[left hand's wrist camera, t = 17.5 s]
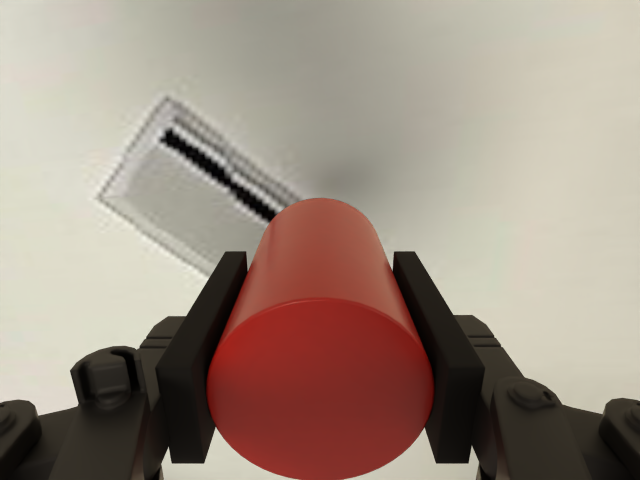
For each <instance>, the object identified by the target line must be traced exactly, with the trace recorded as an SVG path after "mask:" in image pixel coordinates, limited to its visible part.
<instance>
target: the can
mask: <svg viewBox="0 0 640 480" xmlns="http://www.w3.org/2000/svg"><path fill="white" fill-rule="evenodd" d="M434 392H435V387H434V376H433V372H432V367H431V364H430V362H429V359H428V357H427V354H426V352H425V349H424V347H423V345H422V342H421V340H420V337H419V335H418V332H417V330H416V328H415V325H414V323H413V320H412V318H411V315H410V313H409V311H408V308H407V306H406V303H405V301H404V298H403V296H402V293H401V291H400V289H399V286H398V284H397V281H396V279H395V276H394V274H393V272H392V269H391V267H390V264H389V262H388V259H387V257H386V255H385V252H384V250H383V247H382V245H381V242H380V240H379V238H378V235H377V233H376V231H375V229H374V227H373V225H372V224H371V223H370V221H369V220H368V219H367V218H366V217H365V216H364V215H363V214H362V213H361V212H360V211H358V210H357V209H356V208H354V207H352V206H350V205H349V204H346V203H344V202H341V201H338V200H334V199H327V198H313V199H307V200H303V201H299V202H297V203H294V204H292V205H290V206H288V207H287V208H285V209H284V210H282V211H281V212H280V213H278V214H277V215H276V216H275V217H274V218H273V219H272V221H271V222H270V224H269V225H268V226H267V228H266V230H265V232H264V234H263V237H262V239H261V241H260V244H259V246H258V249H257V251H256V254H255V256H254V258H253V261H252V263H251V266H250V268H249V271H248V273H247V275H246V278H245V280H244V283H243V285H242V288H241V290H240V292H239V295H238V297H237V300H236V302H235V305H234V307H233V309H232V312H231V314H230V317H229V319H228V322H227V324H226V326H225V329H224V331H223V334H222V336H221V338H220V341H219V343H218V346H217V348H216V351H215V353H214V355H213V358H212V361H211V364H210V366H209V369H208V375H207V380H206V395H207V402H208V407H209V411H210V414H211V417H212V419H213V421H214V423H215V425H216V428H217V429H218V431H219V432H220V434H221V435H222V437H223V438H224V439H225V440H226V442H227V443H228V444H229V445H230V446H231V447H232V448H233V449H234V450H235V451H236V452H238V453H239V454H240V455H241V456H242V457H244V458H245V459H247V460H248V461H250V462H251V463H253V464H255V465H257V466H259V467H260V468H262V469H264V470H267V471H269V472H272V473H274V474H277V475H281V476H284V477H288V478H293V479H299V480H343V479H348V478H353V477H357V476H360V475H363V474H366V473H369V472H371V471H374V470H376V469H378V468H381V467H382V466H384V465H386V464H388V463H390V462H391V461H393V460H394V459H395V458H397V457H398V456H400V455H401V454H402V453H403V452H404V451H406V450H407V449H408V448H409V447H410V446H411V445H412V444H413V442H414V441H415V440H416V439H417V438H418V437H419V435H420V433H421V432H422V430H423V429H424V427H425V425H426V423H427V421H428V419H429V416H430V413H431V410H432V406H433V401H434Z"/></svg>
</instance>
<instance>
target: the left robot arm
mask: <svg viewBox="0 0 640 480" xmlns="http://www.w3.org/2000/svg"><path fill="white" fill-rule="evenodd" d="M247 273H248V271H247V257H246V252H225V253H224V255H223V257H222V258H221V260H220V262H219V263H218V265H217V266H216V268H215V270H214V271H213V273H212V275H211V276H210V278H209V280H208V281H207V283H206V285H205V286H204V288H203V289H202V291H201V293H200V294H199V296H198V298H197V299H196V301H195V303H194V304H193V306H192V308H191V309H190V311H189V312H188V314H187V316H168V317H166V318H165V319H164V320H162V321H161V322H159V323H158V324H156V325H155V326H154V327H153V328H152V330H151V331H150V333H149V334H148V335H147V337H146V339H145V340H144V341H143V342H142V344H141V345H140V348H139V349H137V350H136V349H135V348H132V347H127V346H113V347H109V348H105V349H100V350H98V351H96V352H93V353H91V354H89V355H87V356H85V357H84V358H82V359H81V360H80V361H78V362H77V363H76V364H75V365H74V366H73V368H72V369H71V370H70V373H71V376H72V380H73V384H74V387H75V391H76V395H77V399H78V402H79V404H78V406H77V407H74V408H71V409H67V410H62V411H58V412H53V413H49V414H44V415H40V416H38V414H37V411H36V408H35V405H33V404H32V403H31V402H29V401H25V400H12V401H6V402H2V403H0V480H164V478H163V472H162V466H161V463H162V461H163V458H164V456H165V454H166V451H167V449H168V447H169V450H170V456H171V461H172V463H204V462H205V459H206V456H207V453H208V449H209V446H210V443H211V440H212V437H213V434H214V430H215V427H216V425H215V423H214V421H213V419H212V417H211V414H210V411H209V407H208V402H207V395H206V380H207V375H208V369H209V366H210V364H211V361H212V358H213V355H214V353H215V351H216V348H217V346H218V343H219V341H220V338H221V336H222V334H223V331H224V329H225V326H226V324H227V322H228V319H229V317H230V314H231V312H232V309H233V307H234V305H235V302H236V300H237V297H238V295H239V292H240V290H241V288H242V285H243V283H244V280H245V278H246V275H247ZM393 274H394V276H395V279H396V281H397V284H398V286H399V289H400V291H401V293H402V296H403V298H404V301H405V303H406V306H407V308H408V311H409V313H410V315H411V318H412V320H413V323H414V325H415V328H416V330H417V332H418V335H419V337H420V340H421V342H422V345H423V347H424V349H425V352H426V354H427V357H428V359H429V362H430V364H431V367H432V372H433V376H434V387H435V392H434V401H433V406H432V410H431V413H430V416H429V419H428V421H427V423H426V425H425V430H426V433H427V436H428V439H429V442H430V445H431V449H432V452H433V455H434V458H435V461H436V463H469V457H470V452H471V446H473V449H474V451H475V453H476V456H477V458H478V460H479V466H478V471H477V477H476V480H640V401H638V400H633V399H626V398H619V399H612V400H611V401H609V402H608V403H607V404H606V406H605V409H604V412H603V414H599V413H594V412H590V411H585V410H581V409H576V408H572V407H569V406H565V405H562V403H561V402H560V400H559V399H558V397H557V396H556V394H555V393H553V392H552V391H551V390H550V389H548V388H547V387H546V386H544V385H542V384H540V383H538V382H536V381H534V380H531V379H528V378H525V377H524V376H523V375H522V373H521V372H520V371H519V369H518V368H517V366H516V365H515V364H514V362H513V361H512V360H511V358H510V357H509V355H508V354H507V353H506V351H505V350H504V349H503V347H501V344H500V343H499V342H498V340H497V339H496V338H494V335H493V333H492V332H491V331H490V329H489V328H488V327H487V325H486V324H484V323H483V322H482V321H480V320H479V319H477V318H476V317H474V316H473V315H453V314H452V312H451V310H450V309H449V307H448V305H447V304H446V302H445V301H444V299H443V297H442V296H441V294H440V292H439V291H438V289H437V287H436V286H435V284H434V282H433V281H432V279H431V278H430V276H429V274H428V273H427V271H426V269H425V268H424V266H423V264H422V263H421V261H420V259H419V258H418V256H417V255H416V253H415V252H394V260H393Z"/></svg>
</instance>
